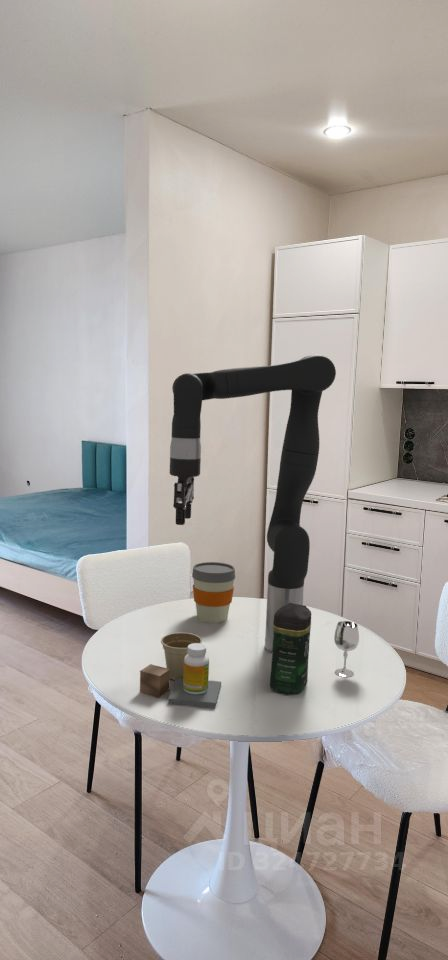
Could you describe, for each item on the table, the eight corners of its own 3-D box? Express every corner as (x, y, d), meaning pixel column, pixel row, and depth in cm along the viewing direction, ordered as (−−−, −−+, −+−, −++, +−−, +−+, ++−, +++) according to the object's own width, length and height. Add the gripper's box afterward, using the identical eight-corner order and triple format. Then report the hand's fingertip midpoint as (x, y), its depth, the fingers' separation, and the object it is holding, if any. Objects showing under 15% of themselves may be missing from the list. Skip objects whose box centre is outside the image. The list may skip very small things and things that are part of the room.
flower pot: (169, 688, 140) (170, 650, 139) (153, 671, 148) (154, 635, 147) (207, 680, 144) (209, 644, 143) (190, 664, 152) (191, 630, 151)
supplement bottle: (207, 695, 134) (209, 652, 133) (182, 694, 134) (183, 650, 133) (208, 684, 140) (210, 642, 138) (184, 683, 140) (185, 641, 138)
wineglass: (358, 670, 153) (361, 622, 151) (354, 679, 147) (358, 630, 146) (334, 666, 155) (337, 618, 153) (330, 675, 149) (333, 626, 148)
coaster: (221, 686, 141) (221, 681, 141) (215, 708, 131) (215, 702, 131) (177, 682, 142) (177, 677, 142) (168, 703, 133) (168, 698, 132)
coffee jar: (300, 699, 137) (305, 616, 134) (265, 692, 139) (269, 611, 137) (311, 681, 146) (315, 603, 143) (277, 675, 148) (281, 598, 146)
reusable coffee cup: (240, 614, 189) (242, 565, 187) (222, 628, 177) (225, 575, 175) (202, 607, 194) (204, 559, 192) (183, 620, 182) (184, 569, 180)
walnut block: (169, 690, 139) (169, 669, 138) (159, 698, 135) (159, 676, 134) (150, 685, 141) (150, 664, 140) (139, 692, 137) (140, 670, 137)
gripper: (195, 459, 148) (193, 528, 150) (204, 454, 162) (202, 517, 164) (164, 458, 148) (162, 526, 151) (175, 453, 162) (174, 515, 165)
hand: (183, 521), depth 157 cm, fingers open, 8 cm apart
